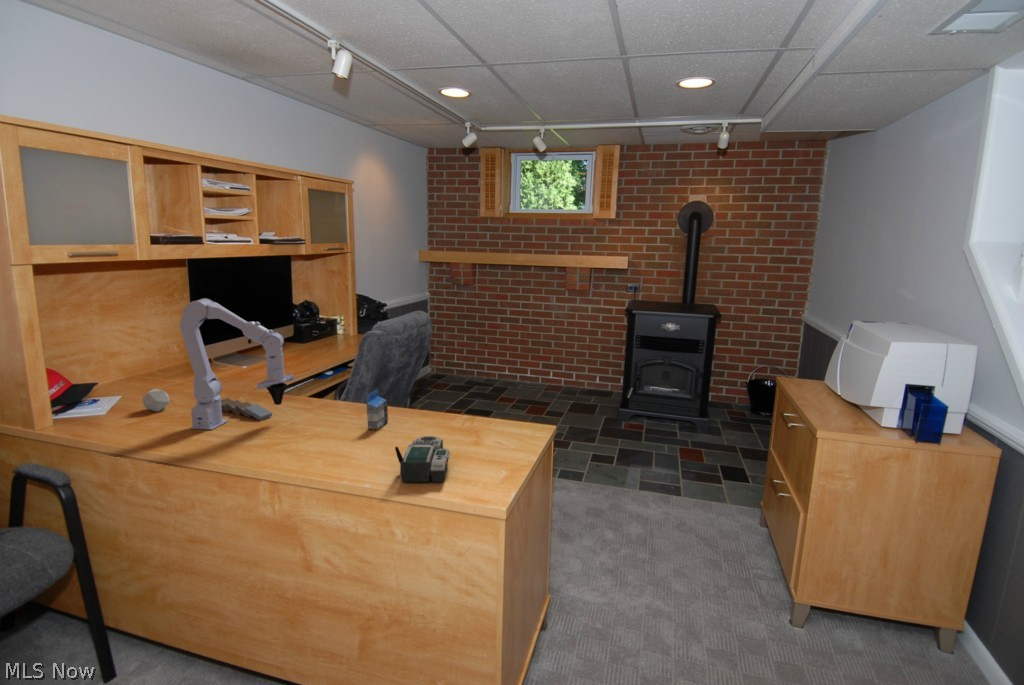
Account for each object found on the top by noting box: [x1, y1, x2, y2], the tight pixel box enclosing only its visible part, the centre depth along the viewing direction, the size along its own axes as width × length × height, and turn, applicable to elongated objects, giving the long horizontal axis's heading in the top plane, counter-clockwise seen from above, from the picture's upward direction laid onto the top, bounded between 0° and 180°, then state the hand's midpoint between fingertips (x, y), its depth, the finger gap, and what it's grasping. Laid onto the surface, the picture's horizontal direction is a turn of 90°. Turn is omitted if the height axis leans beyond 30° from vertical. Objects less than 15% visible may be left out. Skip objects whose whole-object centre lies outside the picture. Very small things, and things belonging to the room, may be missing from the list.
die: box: [142, 388, 171, 412], centre depth 200 cm, size 8×9×10 cm
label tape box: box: [365, 389, 389, 430], centre depth 187 cm, size 9×4×12 cm, turn 168°
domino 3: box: [235, 401, 254, 419], centre depth 197 cm, size 2×5×8 cm
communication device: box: [394, 435, 451, 483], centre depth 157 cm, size 14×28×10 cm, turn 2°
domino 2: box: [225, 399, 243, 417], centre depth 200 cm, size 2×5×8 cm
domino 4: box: [245, 404, 273, 421], centre depth 195 cm, size 2×5×8 cm
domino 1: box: [221, 397, 233, 413], centre depth 203 cm, size 2×5×8 cm
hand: (277, 404), depth 190 cm, fingers closed
